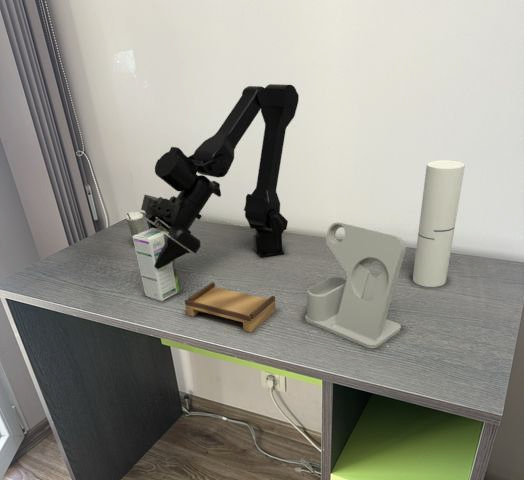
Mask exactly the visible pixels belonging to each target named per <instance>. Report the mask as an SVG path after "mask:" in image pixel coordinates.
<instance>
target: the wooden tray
mask: <svg viewBox="0 0 524 480" xmlns="http://www.w3.org/2000/svg"><path fill="white" fill-rule="evenodd" d="M184 305H185V312H186V316H188V317H192V318H194V317H196V316H197V315H199V314H200V313H207V314H210V315H214V316H217V317H221V318H225V319H228V320H233V321H236V322H241V323H242V329H243V332H246V333H253V332H254V331H255V330H256V329H257V328H258V327H260V326H261V325H262V324H263V323H264V322H265V321H267V320H268V319H269V318H270V317H271V316H272V315H273V314H275V313H276V311H277V310H276V309H277V308H276V296H275V295H271V296H270V297H269V298H265V297H260V296H256V295H252V294H247V293H244V292H238V291H235V290H230V289H226V288H222V287H216V284H215V282H210V283H208V284H207V285H206V286H204V287H203V288H201V289H200V290H198V291H196V292H194V293H193V294H192V295H190V296H189V297H188V298H187V299H185V300H184Z"/></svg>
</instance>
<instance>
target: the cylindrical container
mask: <svg viewBox="0 0 524 480" xmlns="http://www.w3.org/2000/svg"><path fill="white" fill-rule="evenodd" d="M465 168H466V164H465V163H464V162H463V161H458V160H452V159H451V160H450V159H439V160H432V161H427V162H426V166H425V175H424V183H423V192H422V201H421V208H420V215H419V225H418V233H417V239H416V240H417V241H416V248H415V257H414V265H413V272H412V274H413V275H412V281H413V282H414V283H415V284H416V285H418V286H422V287H427V288H437V287H442V286H443V285H445V284H446V282H447V276H448V271H449V264H450V258H451V254H452V253H451V252H452V246H453V240H454V233H455V228H456V222H457V216H458V210H459V205H460V204H459V203H460V198H461V192H462V184H463V180H464V173H465V172H464V171H465Z"/></svg>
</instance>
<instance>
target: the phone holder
mask: <svg viewBox="0 0 524 480" xmlns="http://www.w3.org/2000/svg"><path fill="white" fill-rule="evenodd" d="M341 228H342V229H343V230H344V237H343V239H342V240H341V241H338V240H337V238H336V237H337V236H336V233H337V231H338V230H339V229H341ZM325 243H326V245H327V246H328V248H329V250H330V251H331V252H332V254H333V256H334V257H335V259H336V260H337V261H338V263H339V265H340V266H341V268H342V269H343V270H344V273H345V274H346V279H345V278H344V277H340V276H331V277H328V278H326V279H324V280H323V281H320V282H319V283H317V284H315V285H313V286H311V287H309V288H308V289H307V290H306V291H307V292H306V314H305V315H304V321H305V322H307V323H308V324H310V325H313V326H316V327H318V328H320V329H322V330H325V331H327V332H329V333H332V334H334V335H337V336H339V337H341V338H343V339H346V340H348V341H350V342H353V343H355V344H357V345H359V346H362V347H365V348H366V349H376V348H378V347H380V346H381V345H383V344H384V343H385V342H387V341H388V340H390V339H391V338H393V337H394V336H395V335H397V334H399V333H400V331H401V329H402V325H401V324H400V323H398V322H396V321H393V320H390V319H388V318H387V316H388V313H389V309H390V305H391V303H392V299H393V296H394V292H395V289H396V285H397V282H398V278H399V275H400V272H401V269H402V264H403V261H404V258H405V255H406V250H407V247H406V246H407V245H406V242H405V240H404V239H403V238H401V237H400V236H396V235H393V234H389V233H384V232H380V231H377V230H373V229H370V228H369V229H368V228H364V227H360V226H356V225H353V224H347V223H343V222H333V223H332V224H331V225H330V226H329V227H328V229H327V231H326V236H325ZM374 262H378V263H380V266H381V272H380V273H379V275H377V276H375V275H372V273H371V271H370V267H371V265H372V263H374Z"/></svg>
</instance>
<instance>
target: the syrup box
mask: <svg viewBox="0 0 524 480" xmlns="http://www.w3.org/2000/svg"><path fill="white" fill-rule="evenodd" d="M168 233H169V231H166V230H163V229H158V228H151V229H149V228H148V229H147V230H144V232H142V233H139V234H137V235H134V236H133V239H132V242H133V247H134V249H135V254H136V259H137V264H138V268H139V272H140V278H141V281H142V286H143V291H144V295H145V296H146V297H148V298H151V299H153V300H156V301H160V302H164V301H165V300H167V299H169V298H171V297H172V296H174V295H176V294H179V293H180V292H181V289H180V284H179V279H178V272H177V267H176V262H175V260H176V259H175V260H173V261H171V262H170V263H168V264H166V265H165V266H163V267H161V268H160V269H157V268H155V267H154V265H155V263H156V261H157V258H158V257H159V255H160V253H161V251H162V249H163V247H164V245H165V240H164V234H165V235H167V236H168V237H169V238H170V237H171V236H169V235H168Z"/></svg>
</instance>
